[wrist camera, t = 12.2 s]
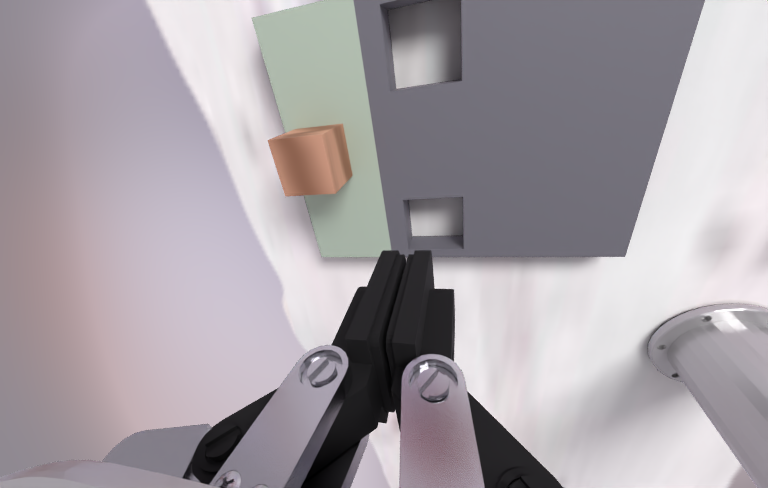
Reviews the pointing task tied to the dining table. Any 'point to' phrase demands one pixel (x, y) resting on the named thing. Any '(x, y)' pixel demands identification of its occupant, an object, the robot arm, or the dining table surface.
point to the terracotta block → (312, 160)
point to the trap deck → (486, 121)
